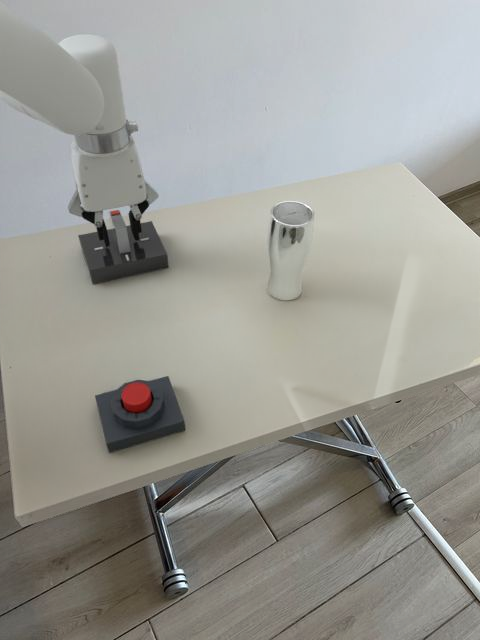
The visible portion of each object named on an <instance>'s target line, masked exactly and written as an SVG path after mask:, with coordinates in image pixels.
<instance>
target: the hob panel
mask: <svg viewBox="0 0 480 640" xmlns="http://www.w3.org/2000/svg"><path fill="white" fill-rule="evenodd" d="M140 223H141V229H142V232H141V233H139V239H140V240H138V241H136V240H135V239H134V236H133V234H132V231H131V226H130V224H129V225H126V228H127V233H128V239H129V245H130V252H126V253H121V254H120V252H119V250H118V247H117V244H116V242H115V239H114V236H113V231H112V228H108V229H107V233H108V237H109V242H110V245H109V246H108V247H106V246H105V243H104V240H99V237H98V233H97V231H92V232H88V233H83V234H78V241H79V245H80V249H81V252H82V255H83V258H84V261H85V264H86V268H87V271H88V274H89V277H90V280H91V281H90V282H91V284H92V285H96V284H100V283H105V282H106V283H107V282H109V281H110V282H111V281H115V280H119V279H123V278H127V277H133V276H137V275H141V274H146V273H150V272H154V271H155V272H156V271H160V270H164V269H168V268H169V267H170V266H169V259H168V253H167V251H166V249H165V246H164V244H163V243H162V240H161V238H160V236H159V234H158V232H157V231H158V230H157V229H156V227H155V225H154V223H153V221H152V220H150V221H146V222H140Z"/></svg>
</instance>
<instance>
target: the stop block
mask: <svg viewBox="0 0 480 640" xmlns="http://www.w3.org/2000/svg"><path fill="white" fill-rule="evenodd" d="M132 383H143V384H145V385H147V386H148V387H149V389H150V393H151V398H152V402H151V405H150V406H149V408H148V409H146V410H145V411H143V412H140V413H132V412H129V411H128V410H126V409H125V407H124V405H123V401H122V397H121V394H122V391H123V389H124V388H125V387H126V386H128V385H129V384H132ZM94 398H95V402H96V406H97V411H98V414H99V419H100V422H101V427H102V431H103V435H104V440H105V443H106V447H107V451H108V453H109V454H111V453H115V452H117V451H118V452H119V451H121V450H124V449H128V448H131V447H134V446H137V445H141V444H144V443H147V442H151V441H155V440H157V439H161V438H164V437H168V436H171V435H175V434H177V433H181V432H184V431H186V423H185V419H184V415H183V413H182V410H181V408H180V405H179V402H178V399H177V396H176V394H175V390H174V388H173V385H172V383H171V378H170V377H169V375H166V376H162V377H158V378H155V379H151V380H143V379H135V380H132V381H127V382H124V383H123V384H122V385H121V386H119V387H118V388H117V389H114V390H113V389H112V390H110V391H106V392H102V393H98V394H95V395H94Z"/></svg>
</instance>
